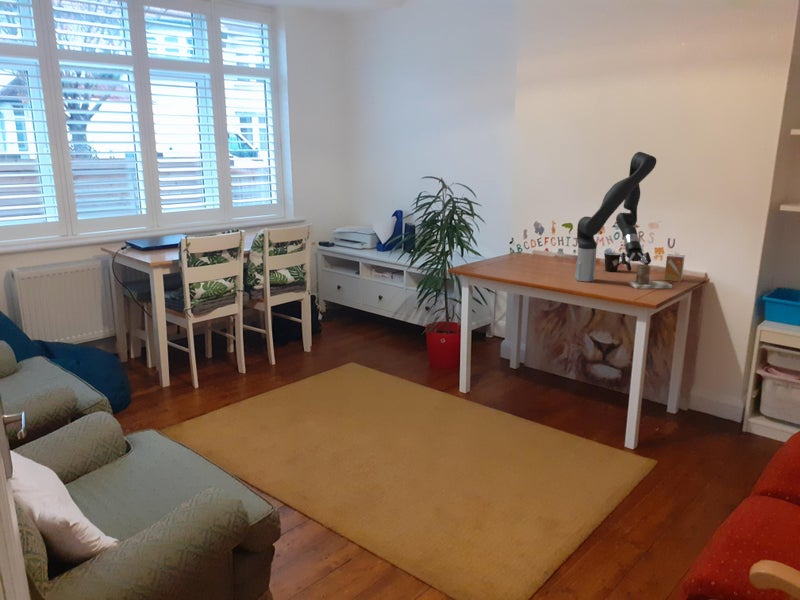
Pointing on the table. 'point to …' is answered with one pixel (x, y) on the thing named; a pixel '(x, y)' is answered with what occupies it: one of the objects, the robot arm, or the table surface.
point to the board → (650, 285)
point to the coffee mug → (612, 261)
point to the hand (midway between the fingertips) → (638, 270)
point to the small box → (674, 267)
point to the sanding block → (643, 274)
